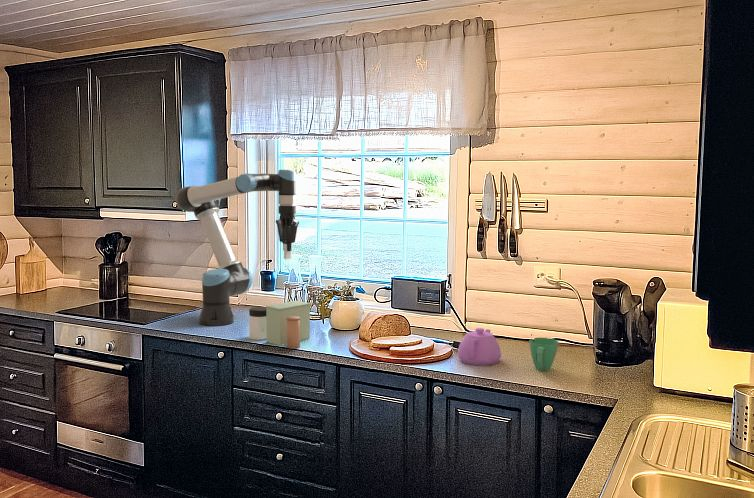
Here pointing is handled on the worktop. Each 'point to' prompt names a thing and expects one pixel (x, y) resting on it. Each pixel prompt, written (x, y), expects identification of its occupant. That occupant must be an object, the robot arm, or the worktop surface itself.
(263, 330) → the jar
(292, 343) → the rust tin
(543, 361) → the mug
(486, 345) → the teapot
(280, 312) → the green tin
